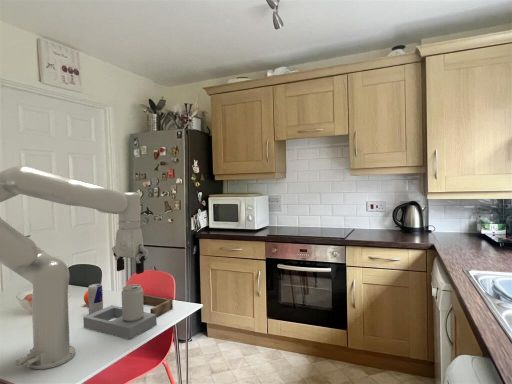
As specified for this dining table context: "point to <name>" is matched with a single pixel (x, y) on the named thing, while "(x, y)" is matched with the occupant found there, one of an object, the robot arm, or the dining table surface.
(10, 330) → the dining table surface
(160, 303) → the cubby
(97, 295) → the energy drink
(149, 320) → the hole board
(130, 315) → the can
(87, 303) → the clementine
